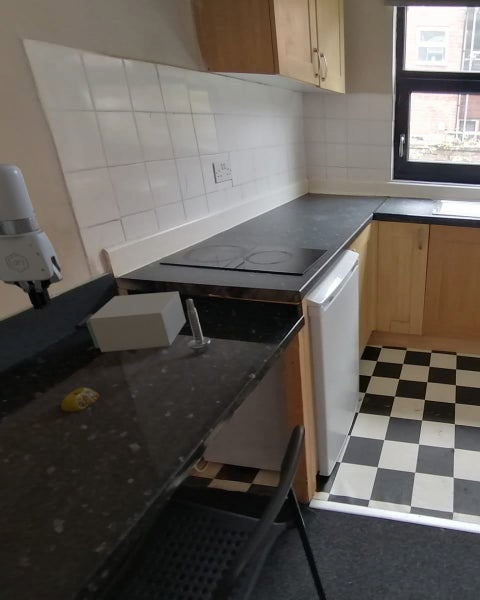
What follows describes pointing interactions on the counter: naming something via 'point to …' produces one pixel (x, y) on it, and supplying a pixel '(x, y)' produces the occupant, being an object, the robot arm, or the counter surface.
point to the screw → (196, 330)
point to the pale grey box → (138, 321)
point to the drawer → (86, 324)
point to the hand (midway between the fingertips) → (43, 306)
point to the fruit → (79, 399)
